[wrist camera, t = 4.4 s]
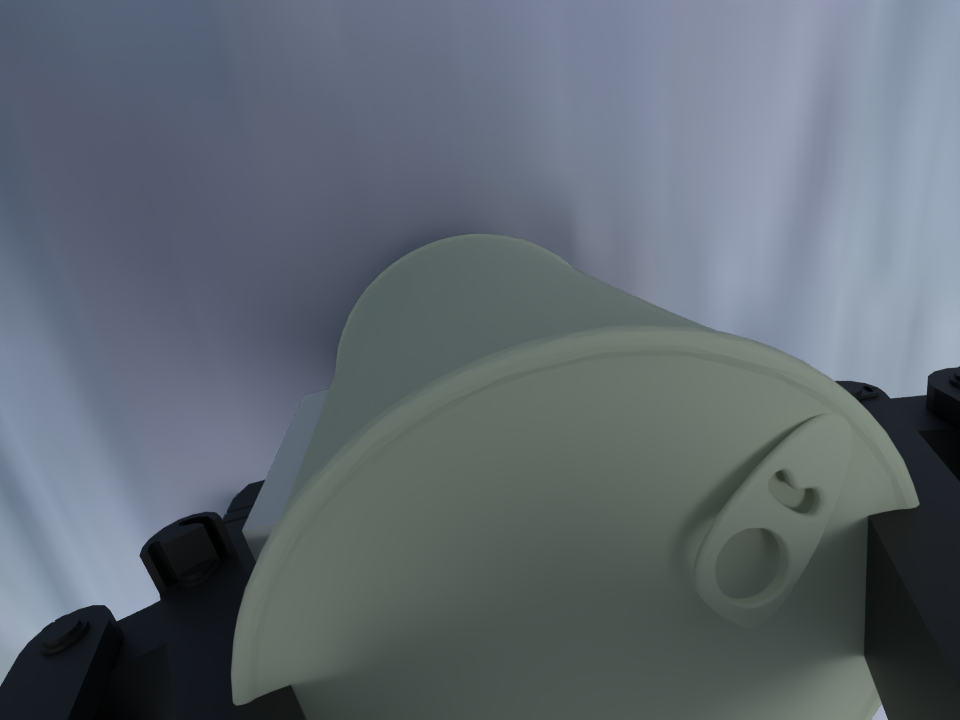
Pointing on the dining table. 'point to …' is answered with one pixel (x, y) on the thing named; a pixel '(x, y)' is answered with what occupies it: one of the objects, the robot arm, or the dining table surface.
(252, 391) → the dining table surface
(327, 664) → the can
